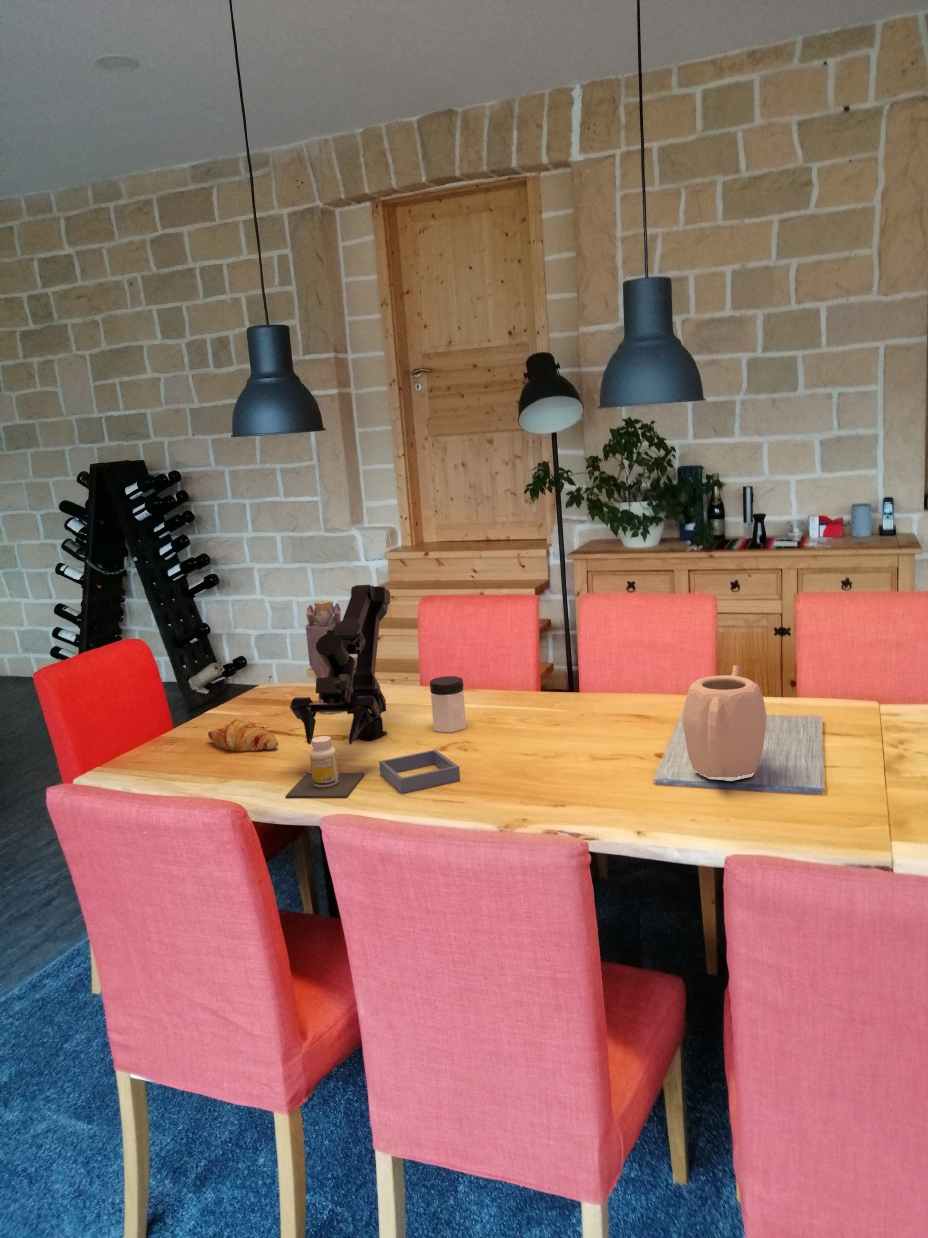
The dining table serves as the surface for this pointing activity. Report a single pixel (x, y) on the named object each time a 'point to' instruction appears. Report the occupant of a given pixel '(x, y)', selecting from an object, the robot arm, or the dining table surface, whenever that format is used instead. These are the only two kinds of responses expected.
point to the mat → (339, 790)
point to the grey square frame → (424, 780)
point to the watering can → (724, 725)
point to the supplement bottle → (323, 762)
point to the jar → (448, 704)
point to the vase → (320, 634)
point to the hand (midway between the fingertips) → (329, 743)
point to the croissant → (243, 737)
